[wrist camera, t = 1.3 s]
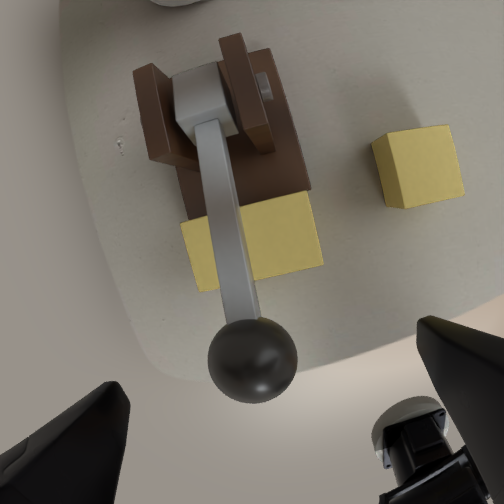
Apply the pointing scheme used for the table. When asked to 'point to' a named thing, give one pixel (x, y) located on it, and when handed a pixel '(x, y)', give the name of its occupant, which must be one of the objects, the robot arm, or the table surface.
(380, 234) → the table surface
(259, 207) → the butter
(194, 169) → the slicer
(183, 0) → the can
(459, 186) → the butter pat
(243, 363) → the blade
